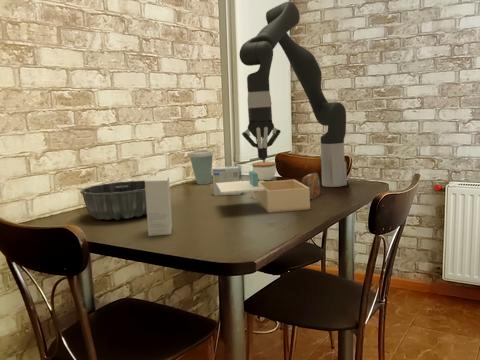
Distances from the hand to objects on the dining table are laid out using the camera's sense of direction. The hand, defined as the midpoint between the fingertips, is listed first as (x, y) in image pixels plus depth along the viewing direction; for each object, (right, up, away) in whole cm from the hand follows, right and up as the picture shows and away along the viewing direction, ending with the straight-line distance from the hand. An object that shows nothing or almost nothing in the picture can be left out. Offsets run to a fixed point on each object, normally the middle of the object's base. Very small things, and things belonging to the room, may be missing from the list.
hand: (262, 159), depth 159 cm
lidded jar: (+4, -7, +63) cm, 63 cm away
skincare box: (-30, -22, -21) cm, 42 cm away
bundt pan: (-46, -19, +5) cm, 50 cm away
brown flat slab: (+18, -13, +17) cm, 28 cm away
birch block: (0, -13, +21) cm, 25 cm away
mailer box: (+7, -15, +5) cm, 17 cm away
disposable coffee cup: (-24, -8, +63) cm, 68 cm away
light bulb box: (-12, -12, +33) cm, 37 cm away
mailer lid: (-8, -9, +2) cm, 12 cm away
